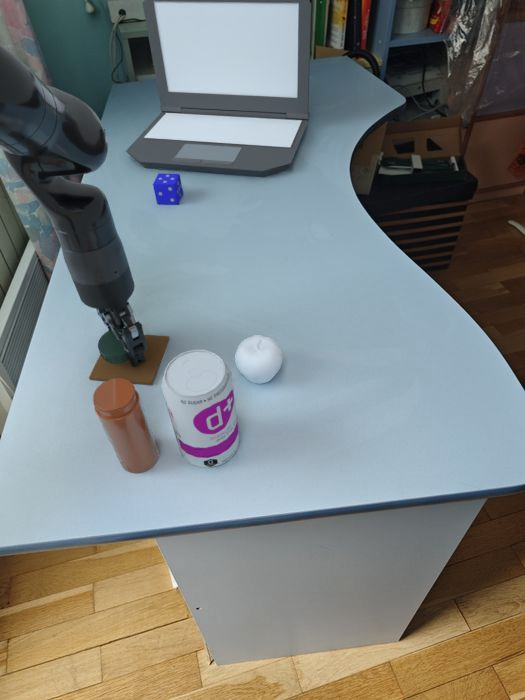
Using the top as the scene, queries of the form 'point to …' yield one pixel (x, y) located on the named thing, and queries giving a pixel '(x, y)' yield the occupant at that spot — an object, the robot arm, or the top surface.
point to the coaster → (134, 374)
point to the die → (168, 188)
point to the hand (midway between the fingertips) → (129, 351)
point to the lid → (112, 348)
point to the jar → (126, 424)
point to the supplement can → (202, 407)
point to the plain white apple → (258, 358)
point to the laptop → (227, 85)
